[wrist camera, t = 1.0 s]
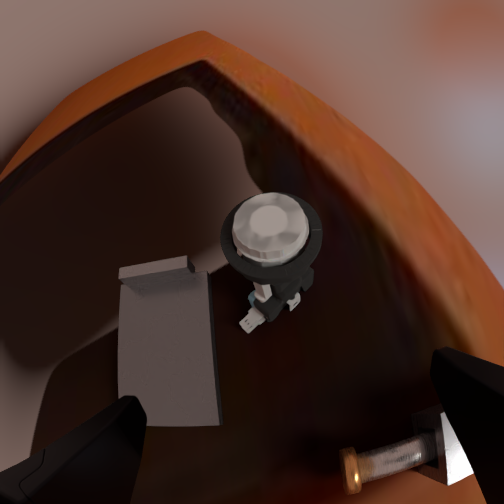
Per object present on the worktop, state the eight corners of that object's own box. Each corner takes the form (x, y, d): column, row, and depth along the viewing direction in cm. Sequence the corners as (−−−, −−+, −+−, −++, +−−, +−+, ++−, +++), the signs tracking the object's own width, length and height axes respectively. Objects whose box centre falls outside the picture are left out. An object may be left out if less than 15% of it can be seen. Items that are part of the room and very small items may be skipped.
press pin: (453, 450, 14) (476, 453, 11) (342, 487, 15) (349, 501, 12) (449, 410, 16) (471, 408, 13) (337, 446, 17) (344, 453, 14)
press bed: (223, 424, 19) (211, 426, 16) (127, 424, 20) (105, 423, 17) (210, 271, 25) (199, 253, 23) (127, 285, 26) (109, 269, 23)
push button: (270, 354, 21) (248, 314, 13) (222, 308, 23) (175, 243, 15) (329, 291, 23) (344, 215, 14) (279, 252, 25) (266, 166, 17)
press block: (503, 430, 14) (540, 428, 9) (418, 472, 14) (447, 485, 10) (495, 377, 16) (532, 365, 12) (410, 414, 17) (440, 413, 13)
